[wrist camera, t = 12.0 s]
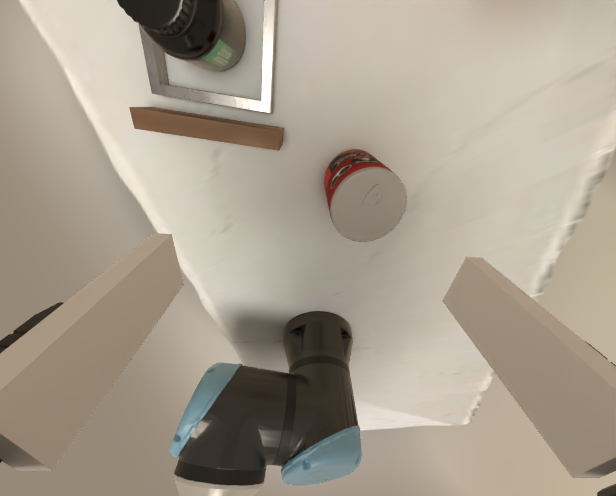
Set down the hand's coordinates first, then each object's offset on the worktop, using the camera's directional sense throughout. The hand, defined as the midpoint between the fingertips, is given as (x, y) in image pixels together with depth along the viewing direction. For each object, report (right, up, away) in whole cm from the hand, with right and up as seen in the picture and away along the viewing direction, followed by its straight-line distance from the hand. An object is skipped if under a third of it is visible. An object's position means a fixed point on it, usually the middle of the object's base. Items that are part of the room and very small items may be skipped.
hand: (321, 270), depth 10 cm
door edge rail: (-12, +16, +18) cm, 27 cm away
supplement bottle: (-11, +24, +13) cm, 29 cm away
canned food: (+5, +11, +22) cm, 25 cm away
